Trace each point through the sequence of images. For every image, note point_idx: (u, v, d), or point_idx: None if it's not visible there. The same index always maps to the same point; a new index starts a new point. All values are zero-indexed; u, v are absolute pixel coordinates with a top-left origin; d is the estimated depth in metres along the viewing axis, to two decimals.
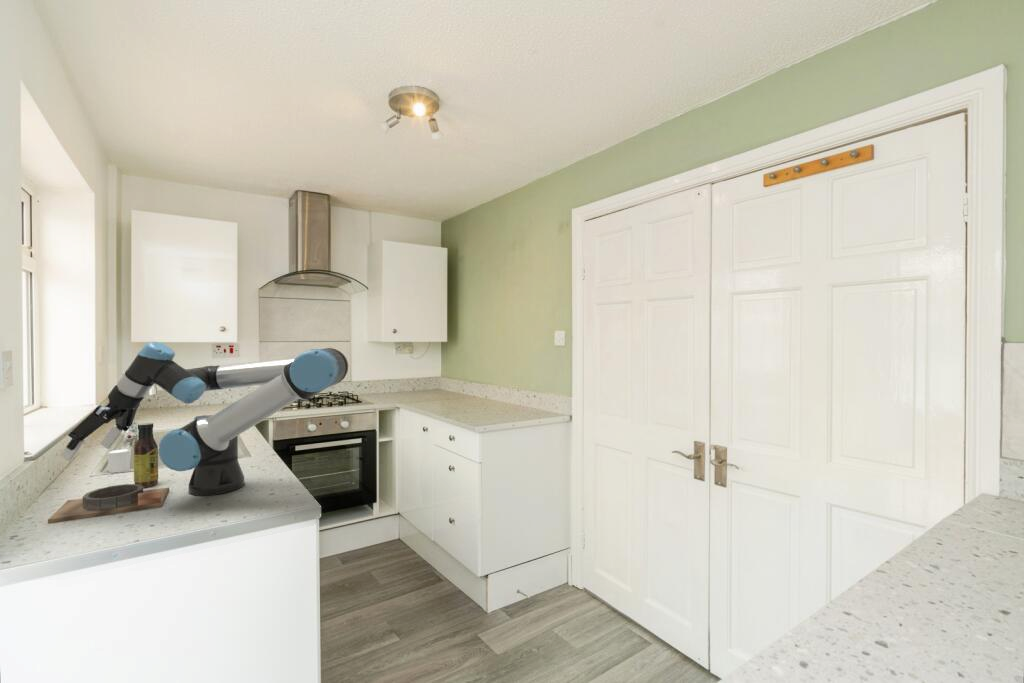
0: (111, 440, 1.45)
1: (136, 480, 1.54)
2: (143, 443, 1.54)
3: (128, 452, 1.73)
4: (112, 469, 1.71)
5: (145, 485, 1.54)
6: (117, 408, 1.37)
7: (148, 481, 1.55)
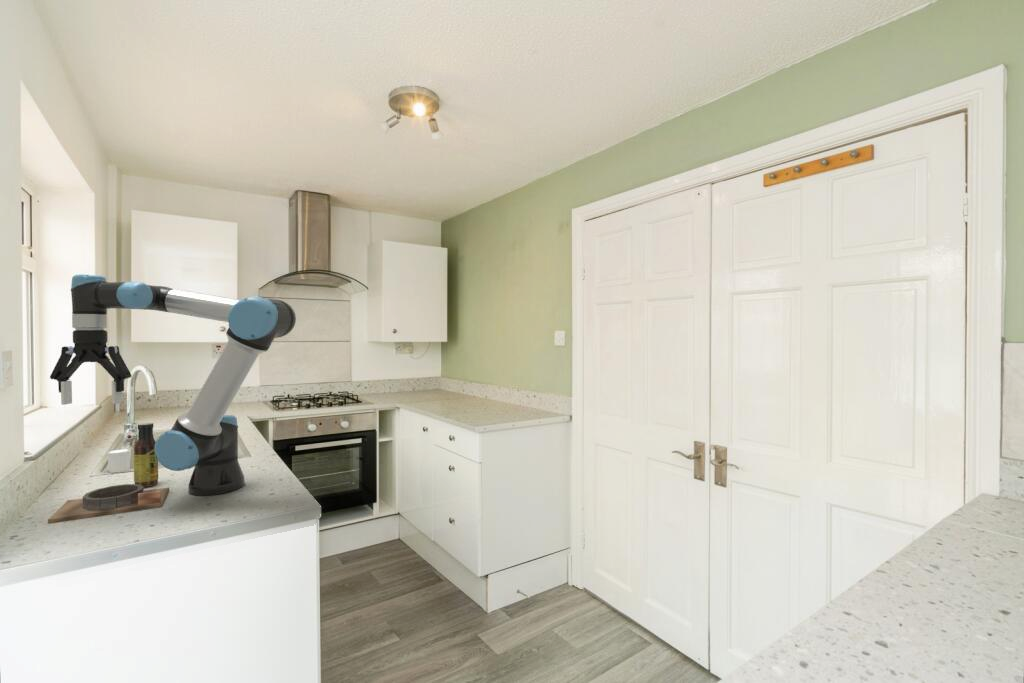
0: None
1: (136, 480, 1.54)
2: (143, 443, 1.54)
3: (128, 452, 1.73)
4: (112, 469, 1.71)
5: (145, 485, 1.54)
6: (79, 347, 1.38)
7: (148, 481, 1.55)
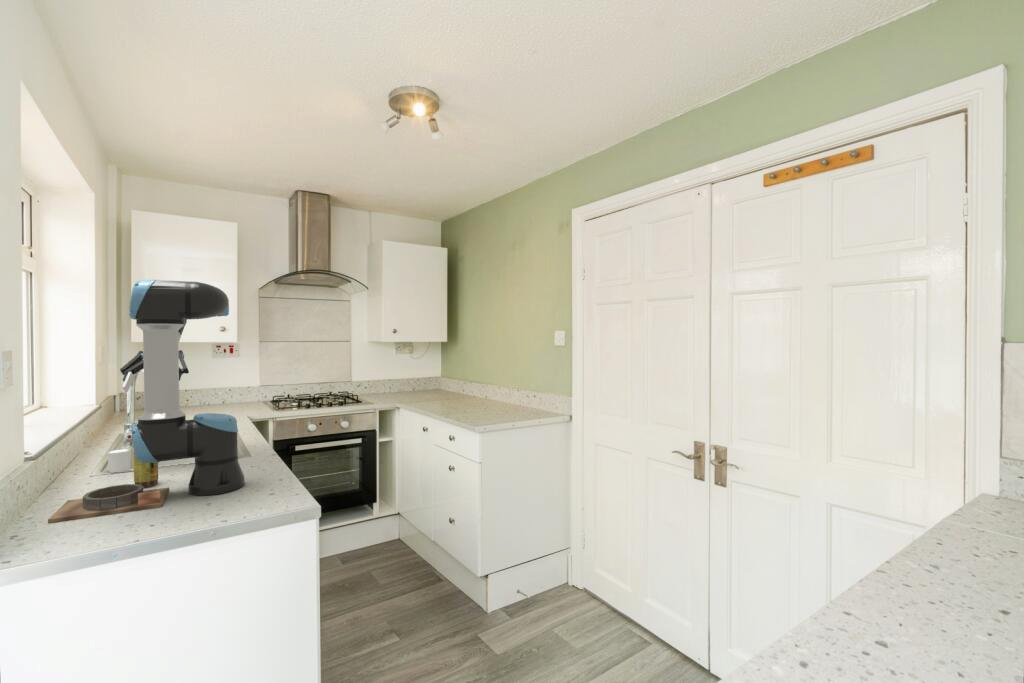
0: None
1: (136, 480, 1.54)
2: None
3: (128, 452, 1.73)
4: (112, 469, 1.71)
5: (145, 485, 1.54)
6: None
7: (148, 481, 1.55)
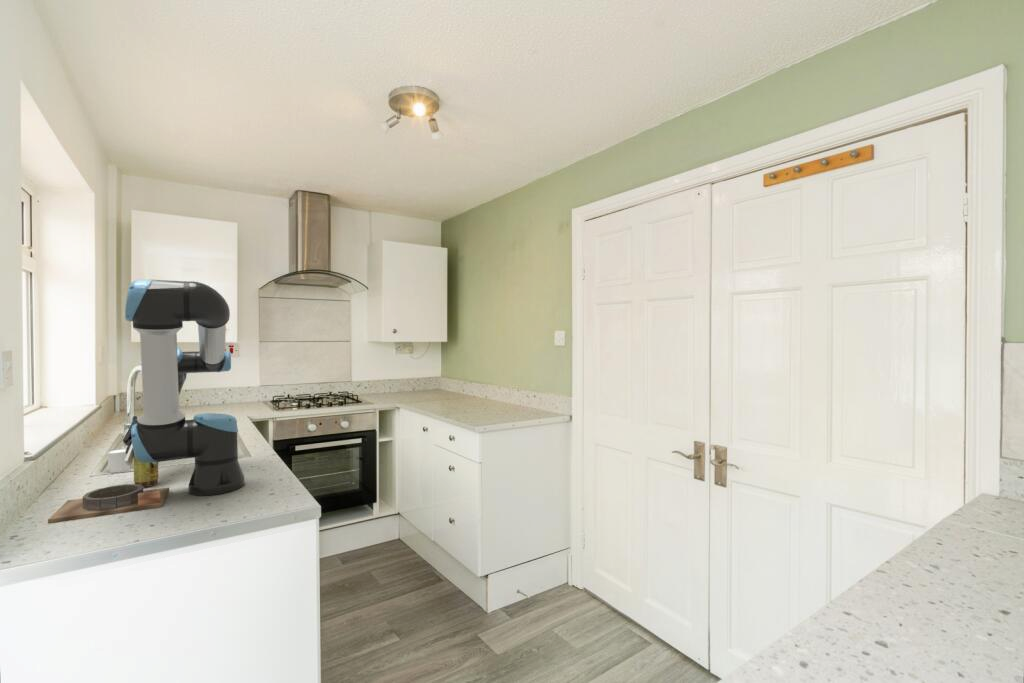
0: None
1: (136, 480, 1.54)
2: None
3: None
4: (112, 469, 1.71)
5: (145, 485, 1.54)
6: None
7: (148, 481, 1.55)
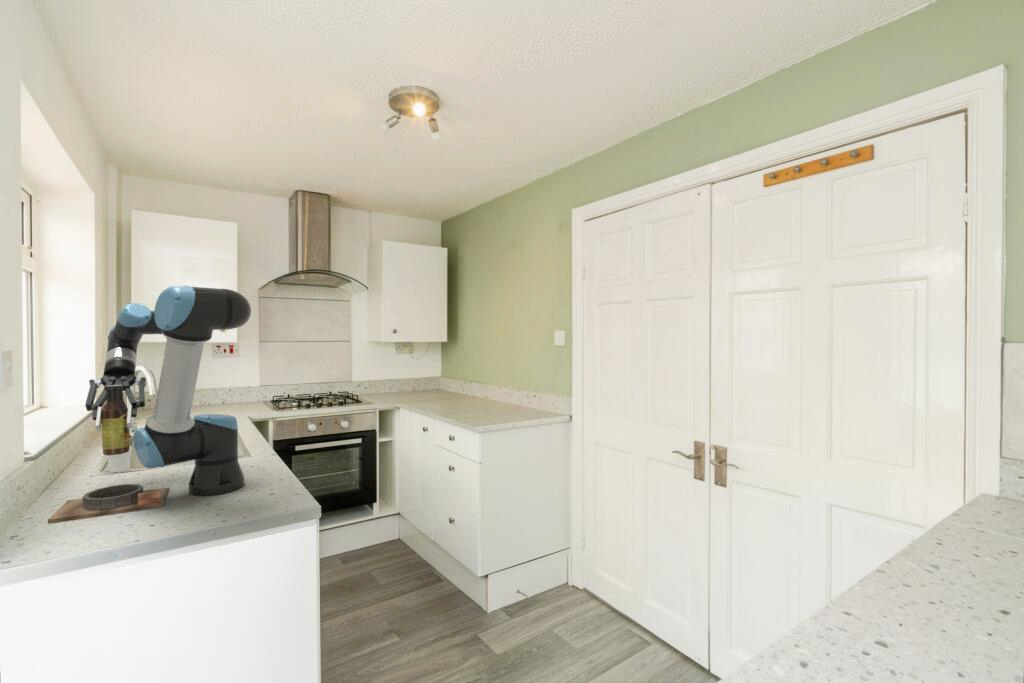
0: None
1: (107, 447, 1.39)
2: (115, 406, 1.40)
3: (128, 452, 1.73)
4: (112, 469, 1.71)
5: (119, 452, 1.40)
6: (108, 375, 1.48)
7: (122, 448, 1.41)
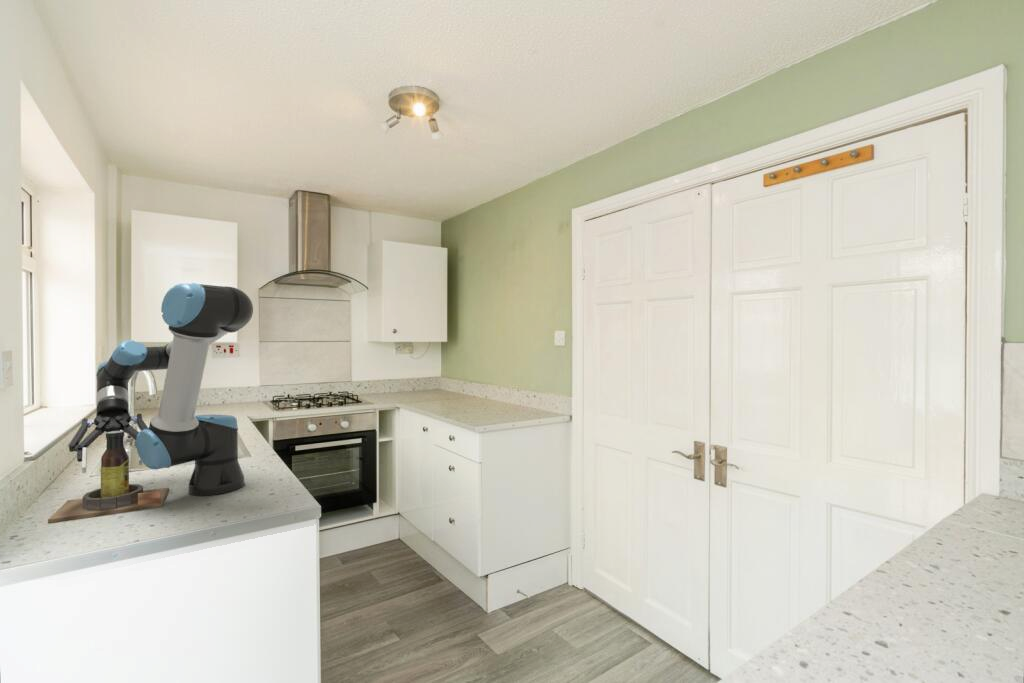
0: None
1: (107, 496, 1.36)
2: (116, 453, 1.37)
3: (128, 452, 1.73)
4: None
5: None
6: (102, 416, 1.44)
7: None
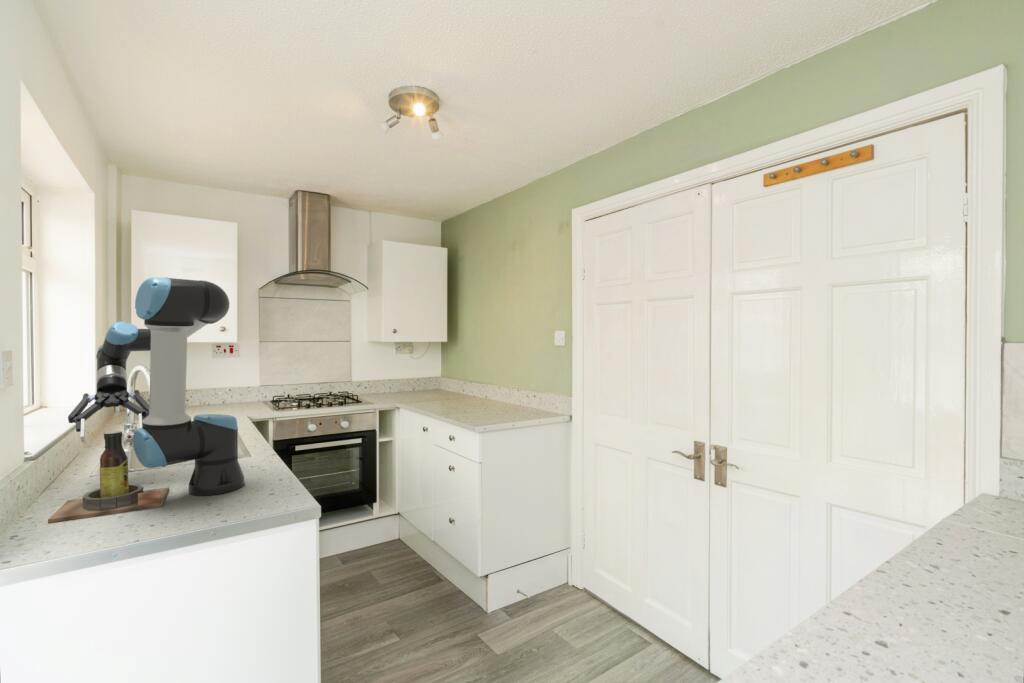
0: (139, 424, 1.52)
1: (107, 496, 1.36)
2: (115, 453, 1.37)
3: (128, 452, 1.73)
4: None
5: None
6: (103, 392, 1.54)
7: None
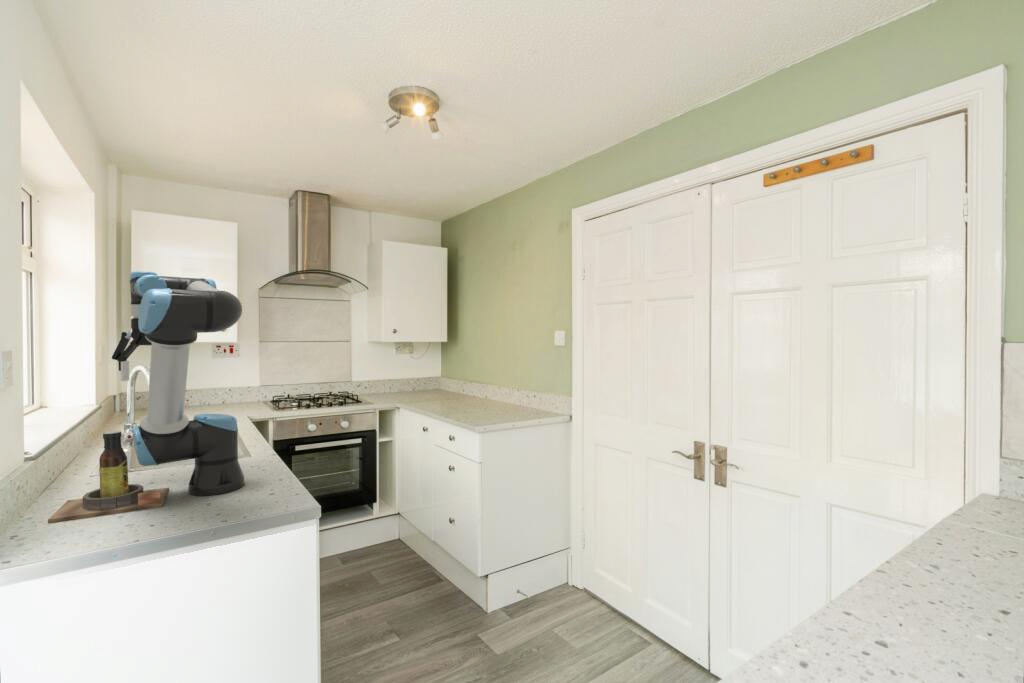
0: None
1: (107, 496, 1.36)
2: (115, 453, 1.37)
3: (128, 452, 1.73)
4: None
5: None
6: (136, 332, 1.64)
7: None
